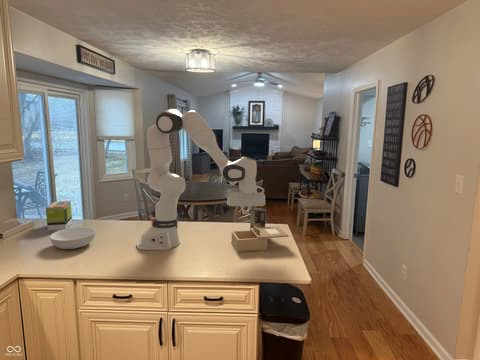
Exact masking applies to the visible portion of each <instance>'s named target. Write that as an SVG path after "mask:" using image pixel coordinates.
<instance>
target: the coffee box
mask: <svg viewBox="0 0 480 360" xmlns="http://www.w3.org/2000/svg"><path fill="white" fill-rule="evenodd" d="M249 215H250V218H249V221H250V222H249V223H250V224H249V229H250V228H253V226H256V227H257V228H260V227H266V221H267V220H266V218H267V217H266V216H267V208H259V207H251V209H250V210H249Z"/></svg>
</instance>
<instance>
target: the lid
mask: <svg viewBox="0 0 480 360" xmlns="http://www.w3.org/2000/svg"><path fill="white" fill-rule="evenodd" d="M249 230H251V231H252V232H253V234H254V235H255V236H256V237H257V238H258V239H259V238H268V239H271V238H272V239H275V238H289V236H290V235H289V234H288V233H287V232H285V231H284V230H283V229H282V228H281V227H280V226H265V227H260V228H257V227H256V226H253V228H250V227H249Z"/></svg>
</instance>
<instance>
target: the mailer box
mask: <svg viewBox="0 0 480 360" xmlns="http://www.w3.org/2000/svg"><path fill="white" fill-rule="evenodd" d="M268 239H269V238H259V239H258V238H257V237H256V236H255V235H254V234H253V232H252V231H251V230H250V229H247V230H246V229H245V230H244V229H243V230H231V245H232V246H233V248H234V250H235V252H236V253H237V254H242V253H243V254H244V253H257V252H268Z"/></svg>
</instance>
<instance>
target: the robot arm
mask: <svg viewBox="0 0 480 360" xmlns="http://www.w3.org/2000/svg"><path fill="white" fill-rule="evenodd" d="M181 130H182V131H184V132H185V133H186V134H187V135H188V137H189V138H190V139H191V140H192V141H193V143H194V144H195V145H196V146H198V147H199V148H200V149H201V150H203V151H205V152H206V153H207V154H208V155H209V156H210V157H211V159H212V160H213V161H214V163H215V164H216V165H217V167H218V171H219V174H220V176H221V177H222V179H224V180H225V181H226V182H230V183H234V182H238V187H237V188H236V187H235V188H234V187H230V188H228V189H227V193H226V194H227V195H226V196H227V198H226V199H227V201H226V204H227V206H229V207H240V208H241V210H242V215H250V210H251V208H252V207H264V206H265V205H266V194H265V188H263V187H261V186H259V185H257V180H256V178H257V172H258V171H257V168H258V165H257V161H256V160H255V159H254V158H251V157H248V156H241V158H239V159H237V160H235V161H232V160H230V159H228V158H227V157H226V155H225V154H224V152H223V151H222V150H221V148H220V147H219V145H218V143H217V137H216V134H215V133H214V131H213V129H212V127H211V126H210V124H209V123H208V122H207V121H206V120H205V118H204V117H202V116H201V114H199V113H198V112H197V111H195V110H188V111H186V112H185V113H183V112H182V111H181V110H180V109H178V108H176V107H175V108H174V107H173V108H168V109H166V110H165V109H164V111H162V112H160V113H159V114H158V115H157V116H156V119H155V124H153V125H150V126H149V127H148V128H147V129H146V145H147V150H148V154H149V155H148V156H149V161H150V170H149V174H148V176H147V178H146V182H147V186H148V187H150V189H152V190H154V192H155V191H156V192H159V193H160V197H159V199H158V201H157V202H156V203H155V207H154V208H155V209H154V210H155V217H151V219H150V221H151V225H150V226H149V227H148V228H146V229H144V231H143V232H142V234H141V237H140V239H139V240H138V241H137V242H136V248H137V250H140V251H142V250H144V251H145V250H146V251H150V250H151V251H168V250H170V249H172V248H175V247H178V246H179V245H180V243H181V241H180V238H179V234H178V227H179V226H178V225H179V221H178V213H177V212H178V210H177V209H178V201H179V199H180V197H181V195H182V194H183V193H184V192H185V189H186V181H185V179H184V178H183V177H182V176H180V175H178V174H176V173H172V172H170V165H171V163H172V162H173V154H172V148H171V147H172V146H171V144H170V142H171V141H170V134H171V135H172V134H174V133H176V132H179V131H181ZM245 207H247V210H246V209H245ZM244 209H245V210H244Z"/></svg>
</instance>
